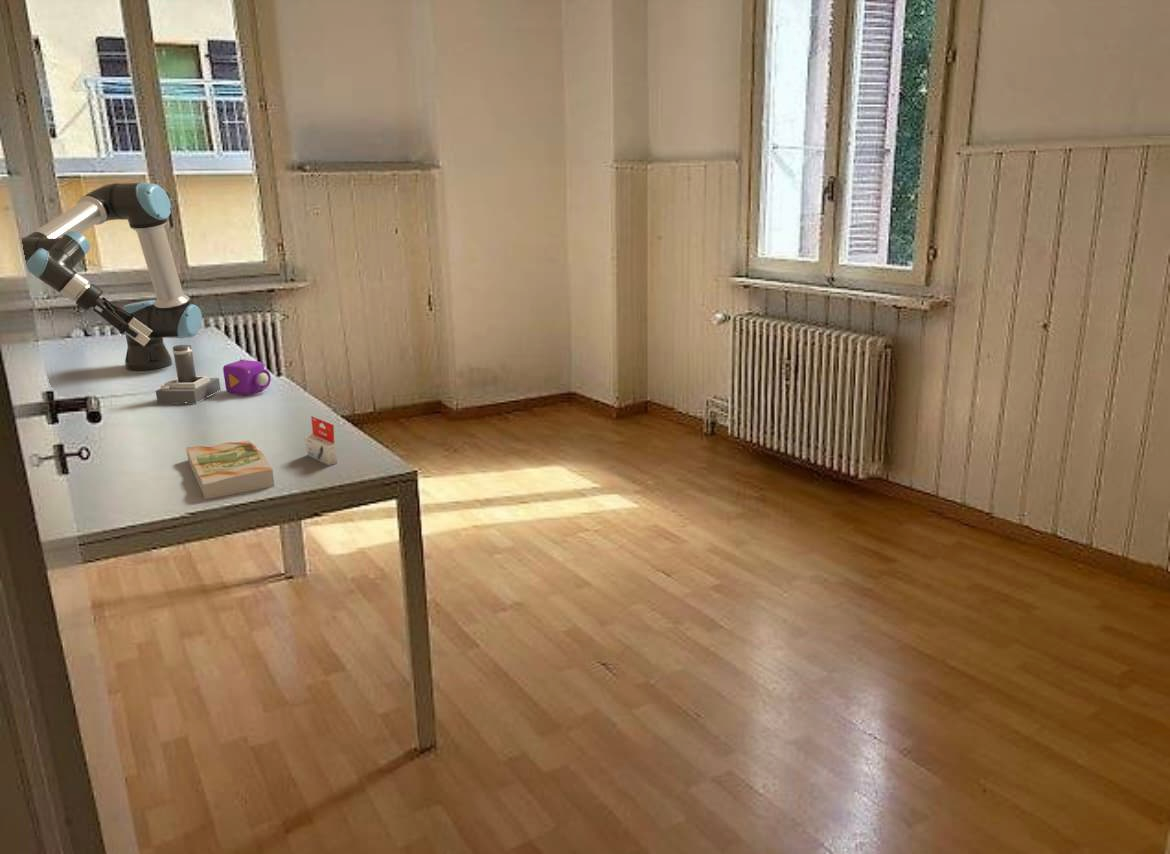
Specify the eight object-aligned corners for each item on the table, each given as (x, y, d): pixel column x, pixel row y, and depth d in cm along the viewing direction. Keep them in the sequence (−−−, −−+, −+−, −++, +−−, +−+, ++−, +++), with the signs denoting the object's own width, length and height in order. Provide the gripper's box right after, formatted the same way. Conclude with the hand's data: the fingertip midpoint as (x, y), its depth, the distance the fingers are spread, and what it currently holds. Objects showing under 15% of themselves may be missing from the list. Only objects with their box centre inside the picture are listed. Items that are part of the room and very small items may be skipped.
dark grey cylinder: (184, 382, 271) (178, 344, 268) (200, 382, 271) (194, 344, 267) (175, 386, 266) (169, 348, 263) (191, 386, 266) (186, 348, 262)
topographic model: (274, 487, 195) (272, 466, 193) (205, 500, 188) (202, 479, 186) (250, 451, 219) (247, 432, 218) (188, 462, 212) (185, 442, 211)
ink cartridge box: (328, 466, 207) (324, 427, 204) (306, 455, 214) (302, 417, 212) (338, 463, 208) (334, 424, 206) (315, 453, 216) (311, 415, 213)
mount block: (184, 390, 278) (181, 373, 276) (220, 390, 277) (218, 373, 276) (157, 403, 263) (154, 386, 261) (196, 403, 262) (193, 386, 260)
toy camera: (261, 397, 268) (257, 366, 265) (221, 395, 271) (217, 364, 268) (279, 388, 278) (276, 358, 275) (241, 387, 281) (237, 357, 278)
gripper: (79, 296, 262) (142, 340, 272) (68, 308, 240) (137, 356, 250) (95, 277, 262) (158, 322, 272) (86, 288, 240) (154, 336, 250)
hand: (148, 338), depth 261 cm, fingers open, 13 cm apart
